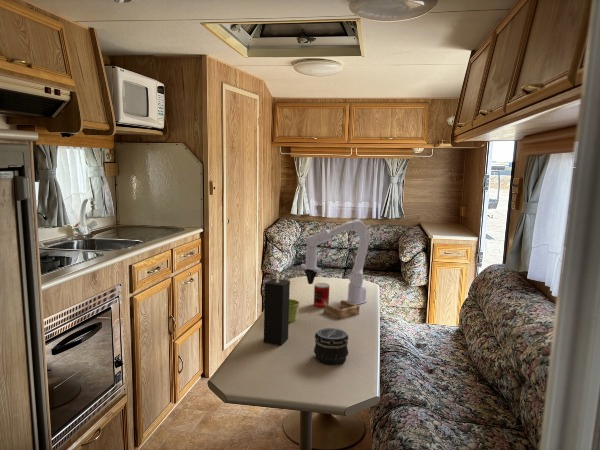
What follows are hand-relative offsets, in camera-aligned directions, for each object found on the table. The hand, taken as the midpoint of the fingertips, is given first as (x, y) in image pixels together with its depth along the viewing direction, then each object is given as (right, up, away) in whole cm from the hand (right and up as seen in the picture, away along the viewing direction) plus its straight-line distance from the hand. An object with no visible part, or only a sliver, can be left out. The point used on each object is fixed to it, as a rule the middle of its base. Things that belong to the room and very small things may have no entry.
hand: (310, 283), depth 231 cm
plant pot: (-11, -13, -29) cm, 34 cm away
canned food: (+5, -11, -6) cm, 13 cm away
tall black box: (-15, -16, -53) cm, 58 cm away
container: (+6, -19, -68) cm, 71 cm away
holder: (+14, -12, -16) cm, 25 cm away
